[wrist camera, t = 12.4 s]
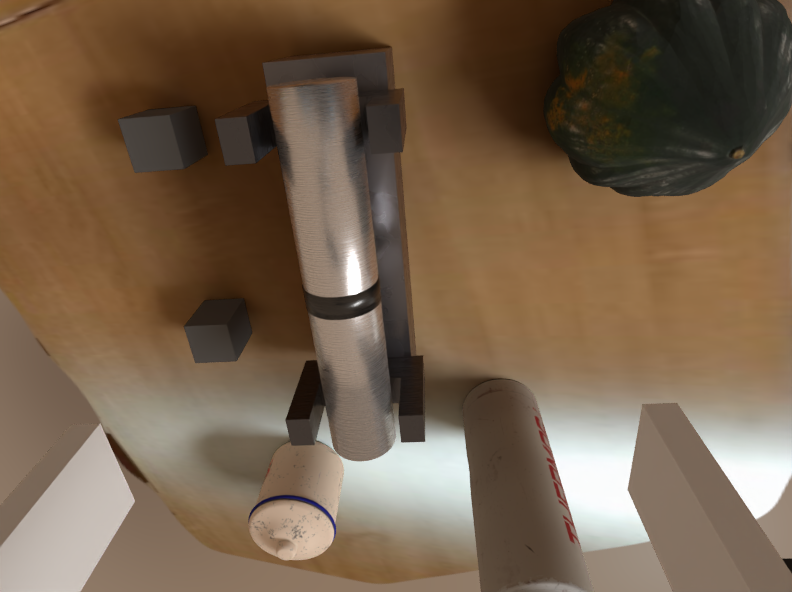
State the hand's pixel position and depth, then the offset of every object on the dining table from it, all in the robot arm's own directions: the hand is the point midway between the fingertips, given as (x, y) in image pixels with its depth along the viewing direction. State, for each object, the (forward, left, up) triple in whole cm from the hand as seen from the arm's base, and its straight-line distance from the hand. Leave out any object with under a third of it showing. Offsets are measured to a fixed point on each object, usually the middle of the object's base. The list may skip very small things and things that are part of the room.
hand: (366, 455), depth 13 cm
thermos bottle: (+28, +8, -35) cm, 45 cm away
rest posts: (+6, -19, -35) cm, 40 cm away
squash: (-4, +18, -35) cm, 40 cm away
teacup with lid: (+37, -14, -35) cm, 53 cm away
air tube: (+6, -4, -24) cm, 25 cm away
